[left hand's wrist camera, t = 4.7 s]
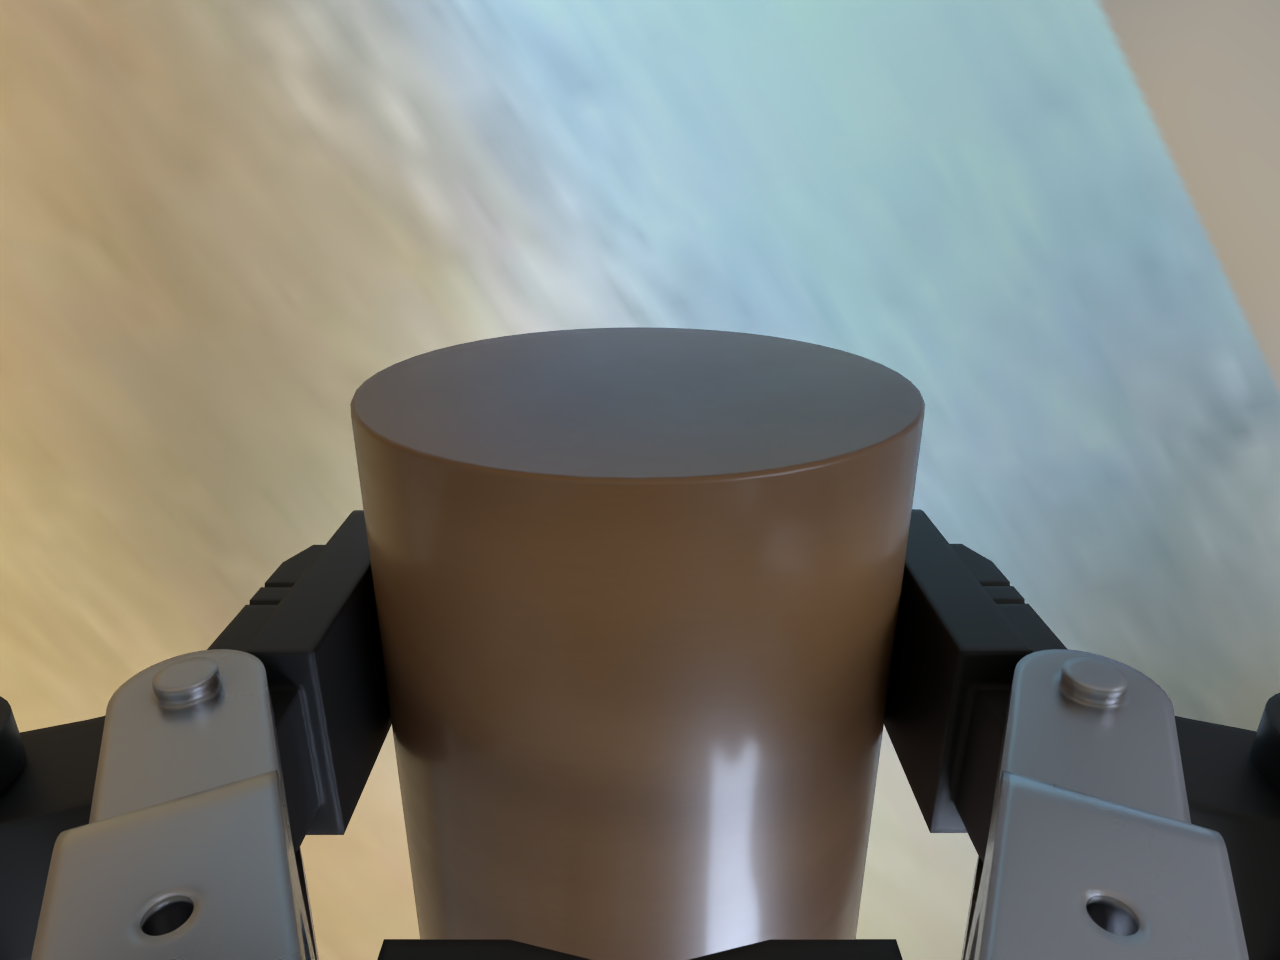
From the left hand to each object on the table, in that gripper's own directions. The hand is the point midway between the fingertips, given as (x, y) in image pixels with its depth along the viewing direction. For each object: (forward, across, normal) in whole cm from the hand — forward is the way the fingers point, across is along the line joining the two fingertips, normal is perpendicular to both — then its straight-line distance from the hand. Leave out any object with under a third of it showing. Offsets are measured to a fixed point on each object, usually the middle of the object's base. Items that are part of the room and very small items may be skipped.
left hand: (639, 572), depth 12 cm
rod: (+2, 0, -9) cm, 9 cm away
